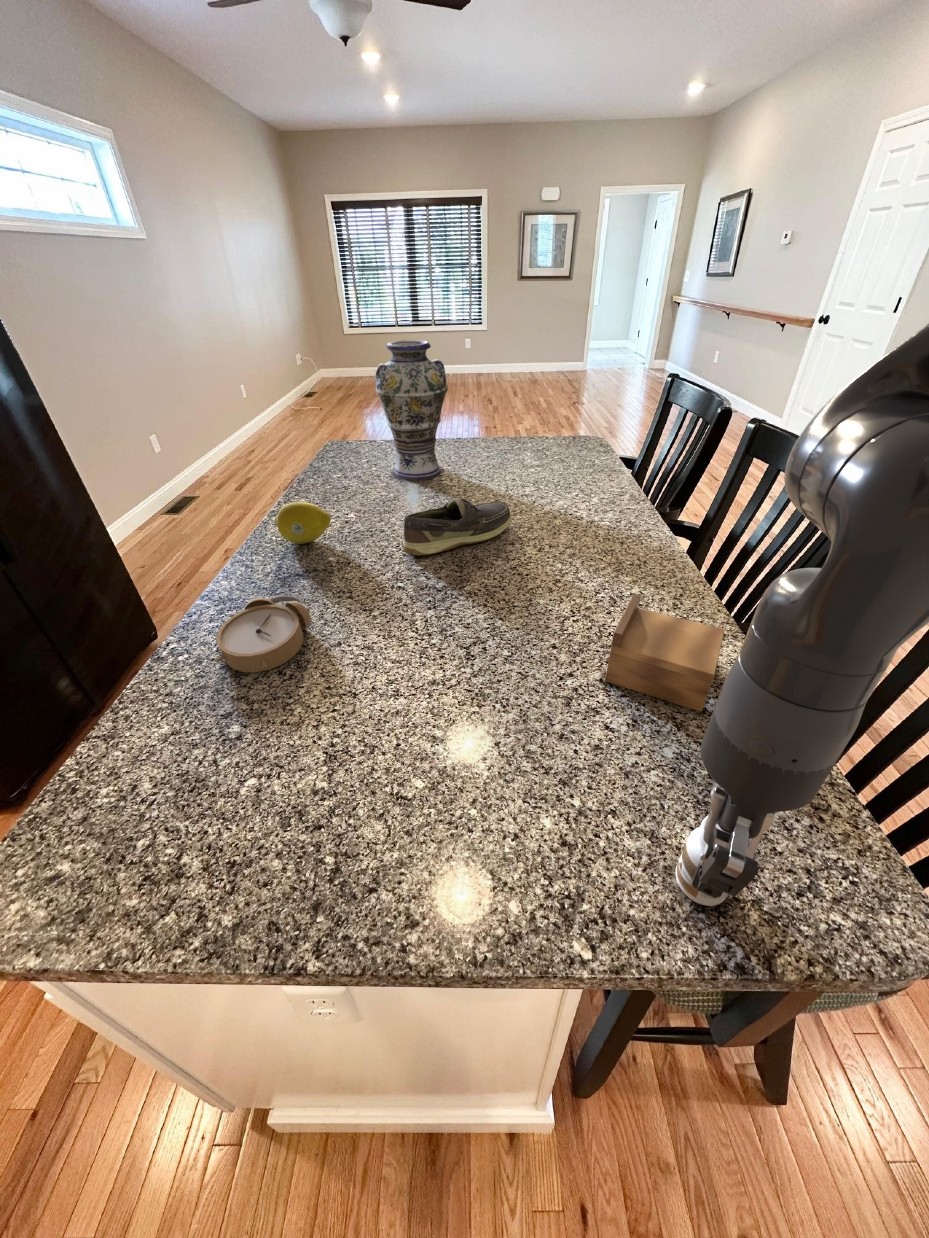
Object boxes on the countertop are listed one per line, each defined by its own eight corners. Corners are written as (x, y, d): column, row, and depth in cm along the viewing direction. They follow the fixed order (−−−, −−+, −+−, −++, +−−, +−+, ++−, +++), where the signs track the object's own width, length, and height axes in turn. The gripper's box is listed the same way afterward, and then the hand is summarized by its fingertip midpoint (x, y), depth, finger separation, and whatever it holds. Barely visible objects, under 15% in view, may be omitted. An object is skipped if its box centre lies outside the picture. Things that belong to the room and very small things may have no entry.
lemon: (271, 548, 100) (261, 509, 95) (290, 531, 106) (282, 494, 102) (323, 552, 98) (316, 513, 93) (339, 534, 104) (333, 497, 100)
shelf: (712, 664, 70) (729, 616, 65) (701, 712, 63) (719, 661, 58) (624, 639, 74) (633, 593, 70) (604, 681, 67) (613, 632, 63)
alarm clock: (198, 653, 69) (251, 580, 79) (212, 675, 72) (262, 603, 83) (274, 662, 67) (319, 586, 77) (285, 685, 70) (327, 610, 81)
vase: (457, 479, 129) (453, 345, 112) (388, 486, 126) (374, 349, 109) (444, 459, 142) (439, 336, 125) (381, 464, 139) (368, 340, 122)
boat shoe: (522, 528, 106) (524, 490, 101) (423, 567, 93) (420, 526, 88) (492, 514, 111) (493, 478, 107) (395, 549, 99) (391, 510, 94)
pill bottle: (668, 857, 48) (688, 807, 43) (716, 859, 47) (741, 808, 43) (682, 906, 44) (706, 857, 39) (735, 908, 44) (764, 859, 39)
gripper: (849, 834, 27) (751, 969, 37) (838, 676, 38) (763, 815, 47) (700, 779, 30) (646, 918, 40) (727, 646, 41) (679, 783, 50)
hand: (710, 861), depth 44 cm, fingers closed on pill bottle, 4 cm apart
